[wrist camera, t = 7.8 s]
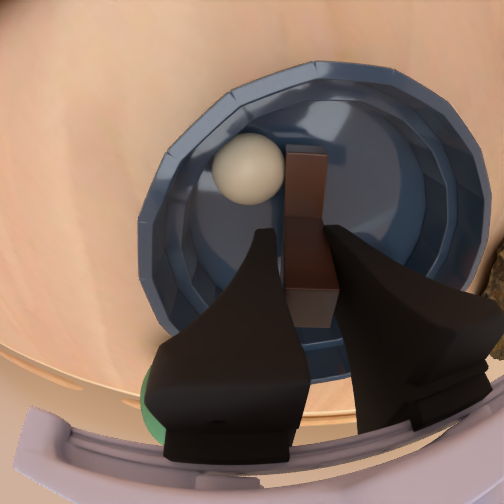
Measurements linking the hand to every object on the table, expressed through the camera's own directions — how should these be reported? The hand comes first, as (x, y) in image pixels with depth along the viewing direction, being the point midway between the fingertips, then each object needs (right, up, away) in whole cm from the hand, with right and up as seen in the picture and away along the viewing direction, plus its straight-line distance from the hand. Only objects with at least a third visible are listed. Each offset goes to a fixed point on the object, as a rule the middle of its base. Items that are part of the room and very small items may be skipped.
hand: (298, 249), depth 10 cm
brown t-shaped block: (0, +2, +2) cm, 3 cm away
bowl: (+2, +1, +4) cm, 5 cm away
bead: (-2, +3, 0) cm, 4 cm away
